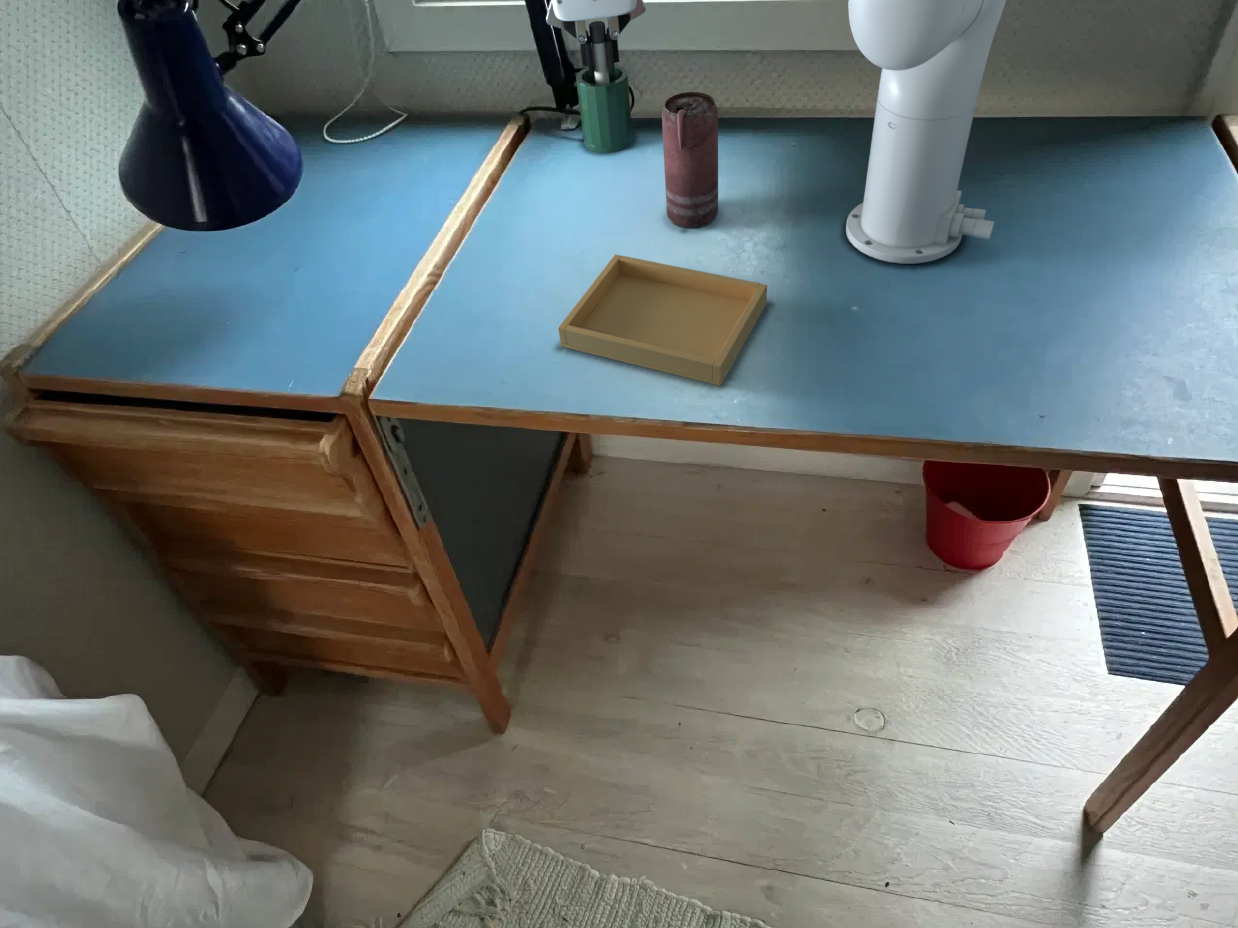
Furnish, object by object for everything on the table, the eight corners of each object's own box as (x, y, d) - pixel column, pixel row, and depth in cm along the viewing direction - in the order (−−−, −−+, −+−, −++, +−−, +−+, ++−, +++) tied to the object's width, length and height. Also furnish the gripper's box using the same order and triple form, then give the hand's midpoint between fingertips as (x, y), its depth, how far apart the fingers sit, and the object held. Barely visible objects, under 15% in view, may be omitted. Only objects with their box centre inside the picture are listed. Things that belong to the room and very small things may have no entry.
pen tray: (766, 304, 92) (767, 284, 90) (720, 386, 84) (720, 366, 83) (616, 272, 98) (614, 254, 97) (560, 346, 90) (557, 327, 89)
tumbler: (640, 132, 120) (635, 67, 113) (619, 156, 116) (613, 89, 109) (597, 126, 122) (590, 61, 116) (576, 149, 118) (567, 83, 112)
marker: (617, 133, 119) (607, 21, 108) (611, 139, 118) (600, 28, 107) (604, 131, 119) (593, 20, 109) (598, 138, 118) (586, 26, 108)
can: (662, 230, 103) (655, 116, 93) (672, 201, 107) (667, 88, 97) (713, 233, 102) (712, 117, 92) (721, 203, 106) (721, 90, 96)
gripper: (515, -75, 96) (540, 90, 110) (658, -93, 96) (666, 74, 109) (515, -96, 101) (539, 65, 115) (651, -113, 101) (659, 50, 114)
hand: (601, 68), depth 112 cm, fingers closed on marker, 2 cm apart
